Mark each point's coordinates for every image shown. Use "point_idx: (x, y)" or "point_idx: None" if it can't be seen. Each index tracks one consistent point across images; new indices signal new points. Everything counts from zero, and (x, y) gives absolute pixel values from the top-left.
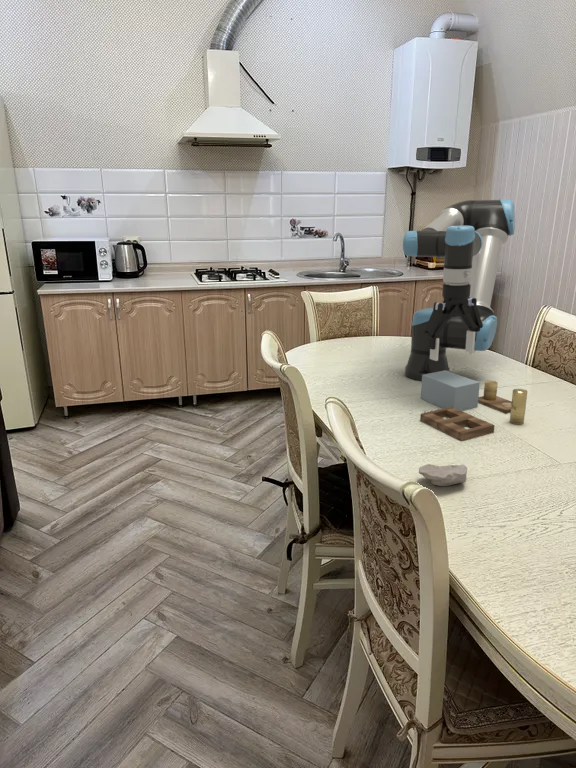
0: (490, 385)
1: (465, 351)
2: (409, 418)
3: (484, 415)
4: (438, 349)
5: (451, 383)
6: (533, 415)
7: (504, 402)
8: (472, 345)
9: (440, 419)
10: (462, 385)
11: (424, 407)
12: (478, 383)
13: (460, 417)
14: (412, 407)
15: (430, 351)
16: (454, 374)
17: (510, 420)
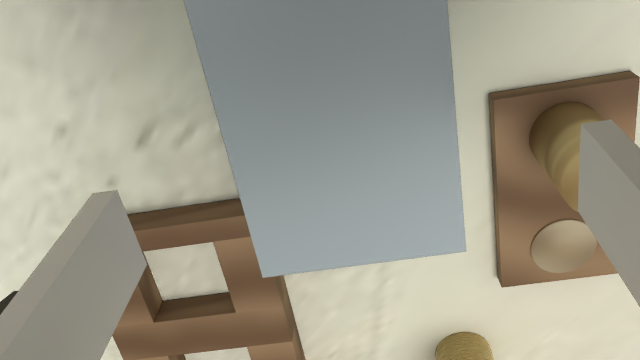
0: (567, 203)
1: (581, 127)
2: (40, 184)
3: (394, 262)
4: (105, 342)
5: (282, 211)
6: (587, 323)
7: None
8: (613, 264)
9: (132, 317)
10: (326, 262)
11: (169, 80)
12: (453, 250)
13: (228, 325)
14: (103, 57)
15: (61, 243)
16: (430, 41)
17: (437, 355)
